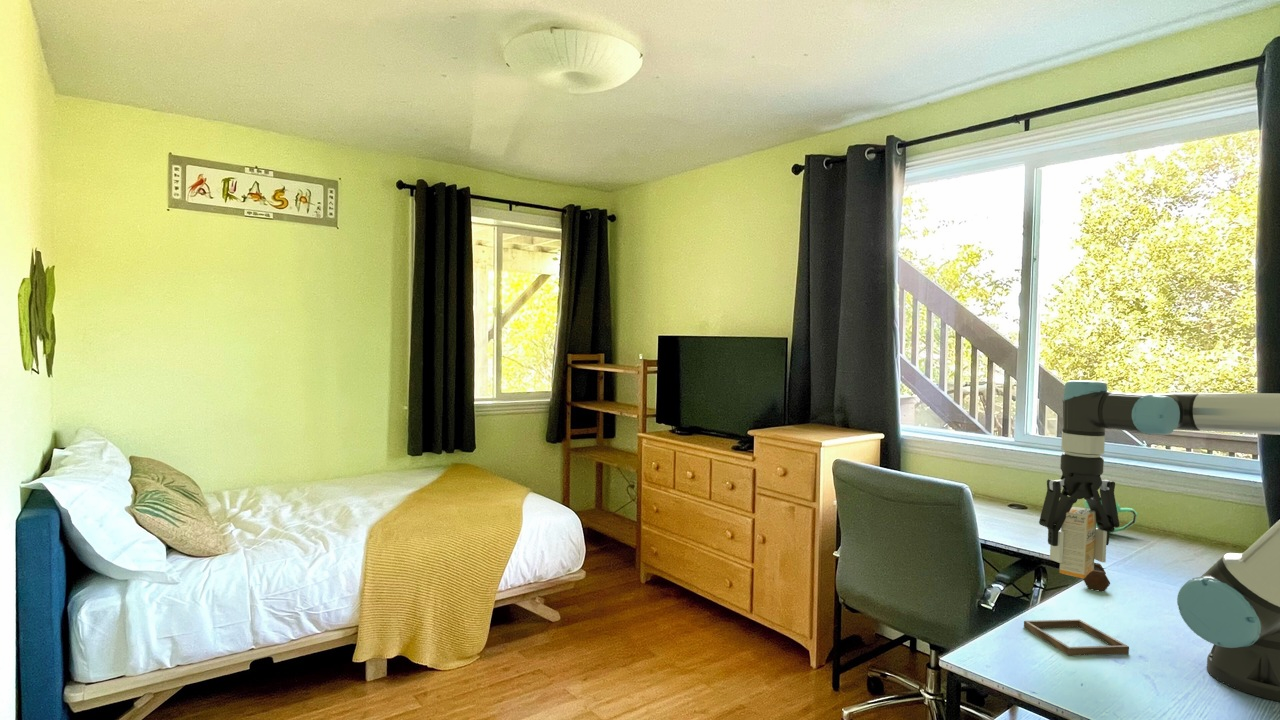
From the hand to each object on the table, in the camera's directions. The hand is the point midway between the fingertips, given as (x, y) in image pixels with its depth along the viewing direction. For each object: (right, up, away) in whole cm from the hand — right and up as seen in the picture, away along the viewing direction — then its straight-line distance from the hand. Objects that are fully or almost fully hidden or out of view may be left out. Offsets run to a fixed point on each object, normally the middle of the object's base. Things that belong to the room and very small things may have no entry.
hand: (1077, 560), depth 141 cm
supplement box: (0, -3, 0) cm, 3 cm away
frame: (0, -17, 0) cm, 17 cm away
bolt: (+29, -17, +37) cm, 49 cm away
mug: (+66, -16, +84) cm, 108 cm away
